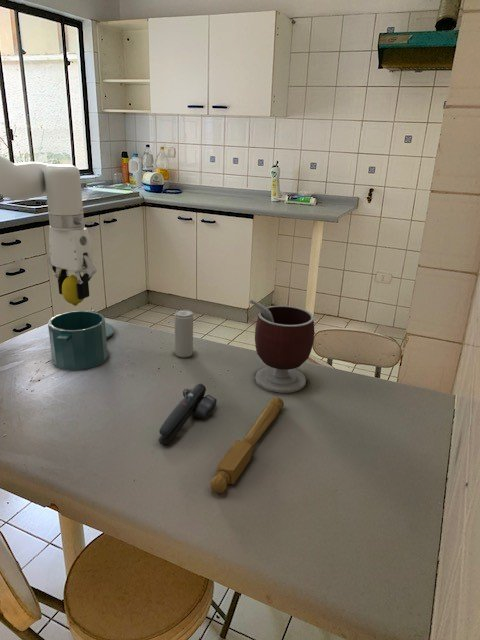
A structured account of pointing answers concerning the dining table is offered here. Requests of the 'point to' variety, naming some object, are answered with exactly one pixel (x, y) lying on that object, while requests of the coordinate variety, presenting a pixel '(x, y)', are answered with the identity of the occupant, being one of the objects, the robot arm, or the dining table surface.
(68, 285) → the lemon
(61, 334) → the pot
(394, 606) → the dining table surface
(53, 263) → the robot arm
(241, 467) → the tap handle
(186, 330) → the beverage can
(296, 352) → the mate gourd
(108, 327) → the lid
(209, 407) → the can opener
